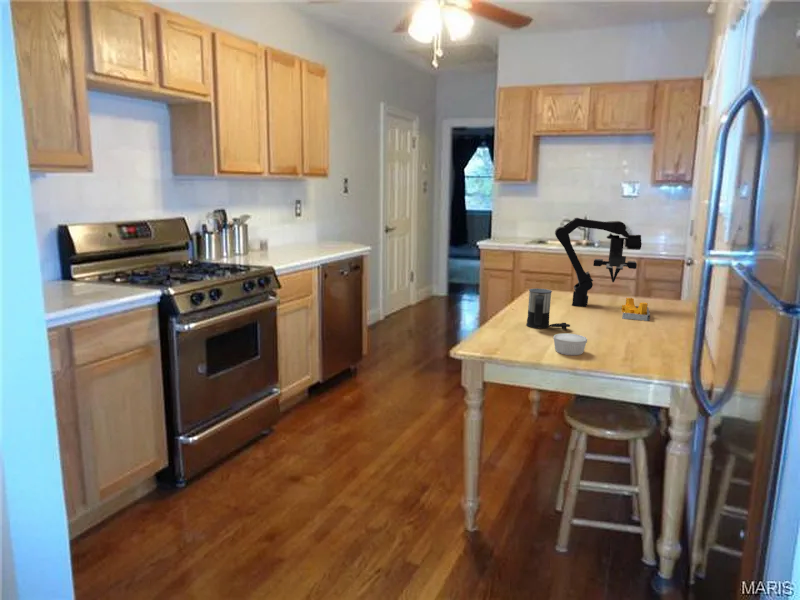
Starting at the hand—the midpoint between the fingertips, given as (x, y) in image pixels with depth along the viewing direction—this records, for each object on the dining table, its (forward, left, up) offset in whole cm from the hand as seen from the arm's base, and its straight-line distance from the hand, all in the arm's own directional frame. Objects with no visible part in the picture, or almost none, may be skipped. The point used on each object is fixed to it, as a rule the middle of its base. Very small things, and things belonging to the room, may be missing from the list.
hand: (613, 282), depth 276 cm
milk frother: (-24, -52, -12) cm, 58 cm away
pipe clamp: (+10, -11, -12) cm, 19 cm away
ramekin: (-13, -83, -12) cm, 85 cm away
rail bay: (+10, -13, -12) cm, 20 cm away
